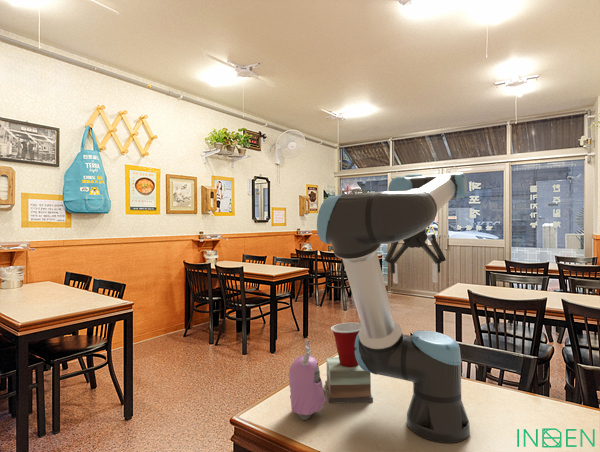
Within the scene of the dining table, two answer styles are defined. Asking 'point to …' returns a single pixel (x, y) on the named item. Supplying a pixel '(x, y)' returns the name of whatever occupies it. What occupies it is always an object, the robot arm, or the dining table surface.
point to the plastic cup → (346, 342)
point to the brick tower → (347, 383)
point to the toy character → (305, 385)
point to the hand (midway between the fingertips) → (415, 282)
